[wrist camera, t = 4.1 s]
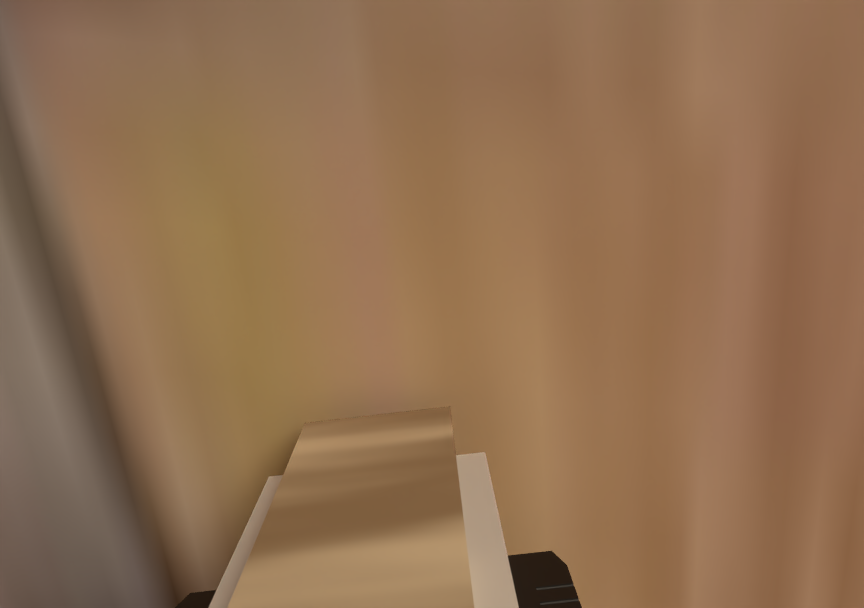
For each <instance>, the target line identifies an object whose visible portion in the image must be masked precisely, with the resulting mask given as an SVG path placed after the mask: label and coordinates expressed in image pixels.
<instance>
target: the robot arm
mask: <svg viewBox="0 0 864 608" xmlns="http://www.w3.org/2000/svg"><path fill="white" fill-rule="evenodd" d="M456 460H457V468H458V476H459V485H460V493H461V501H462V510H463V518H464V526H465V535H466V543H467V551H468V559H469V568H470V576H471V584H472V593H473V601H474V608H582V607H581V604H580V601H579V599H578V596H577V593H576V590H575V587H574V586H573V581H572V579H571V576H570V573H569V570H568V567H567V565H566V564H565V563H564V562H563V561H562V560H561V559H560V558H559V557H557V556H556V555H555V554H554V553H553V552H552V551H546V552H537V553H528V554H519V555H510V556H508V555H507V551H506V546H505V541H504V537H503V532H502V528H501V523H500V518H499V514H498V509H497V504H496V500H495V495H494V491H493V486H492V481H491V477H490V472H489V467H488V463H487V458H486V454H485V452H481V453H472V454H463V455H456ZM282 476H283V475H278V476H269V477H268V480H267V482H266V484H265V486H264V488H263V490H262V493H261V495H260V497H259V499H258V501H257V503H256V506H255V508H254V510H253V512H252V514H251V516H250V519H249V521H248V523H247V525H246V527H245V529H244V532H243V534H242V536H241V538H240V540H239V542H238V545H237V547H236V549H235V551H234V553H233V555H232V558H231V560H230V562H229V564H228V566H227V568H226V571H225V573H224V575H223V577H222V579H221V581H220V584H219V586H218V588H217V590H213V591H204V592H195V593H190V594H189V595H188V596H187V597H186V598H185V599H184V600H183V601H182V602H181V603H179V604H178V605H177V606H176V607H175V608H227V607H228V605H229V603H230V600H231V598H232V595H233V593H234V591H235V588H236V586H237V584H238V581H239V579H240V576H241V574H242V572H243V569H244V567H245V565H246V562H247V560H248V557H249V555H250V553H251V550H252V548H253V545H254V543H255V541H256V538H257V536H258V534H259V531H260V529H261V526H262V524H263V522H264V519H265V517H266V515H267V512H268V510H269V507H270V505H271V503H272V500H273V498H274V495H275V493H276V491H277V488H278V486H279V484H280V481H281V479H282Z"/></svg>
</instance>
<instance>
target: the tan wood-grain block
mask: <svg viewBox="0 0 864 608" xmlns="http://www.w3.org/2000/svg"><path fill="white" fill-rule="evenodd" d="M227 608H474V601H473V593H472V584H471V576H470V568H469V559H468V551H467V543H466V535H465V526H464V518H463V510H462V501H461V493H460V485H459V476H458V468H457V460H456V451H455V443H454V435H453V426H452V418H451V410H450V406H449V407H441V408H432V409H423V410H414V411H406V412H397V413H388V414H379V415H371V416H362V417H353V418H345V419H336V420H327V421H318V422H310V423H305V424H304V426H303V429H302V431H301V434H300V436H299V438H298V441H297V443H296V445H295V448H294V450H293V453H292V455H291V457H290V460H289V462H288V464H287V467H286V469H285V472H284V474H283V476H282V479H281V481H280V484H279V486H278V488H277V491H276V493H275V495H274V498H273V500H272V503H271V505H270V507H269V510H268V512H267V515H266V517H265V519H264V522H263V524H262V526H261V529H260V531H259V534H258V536H257V538H256V541H255V543H254V545H253V548H252V550H251V553H250V555H249V557H248V560H247V562H246V565H245V567H244V569H243V572H242V574H241V576H240V579H239V581H238V584H237V586H236V588H235V591H234V593H233V595H232V598H231V600H230V603H229V605H228V607H227Z"/></svg>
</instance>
